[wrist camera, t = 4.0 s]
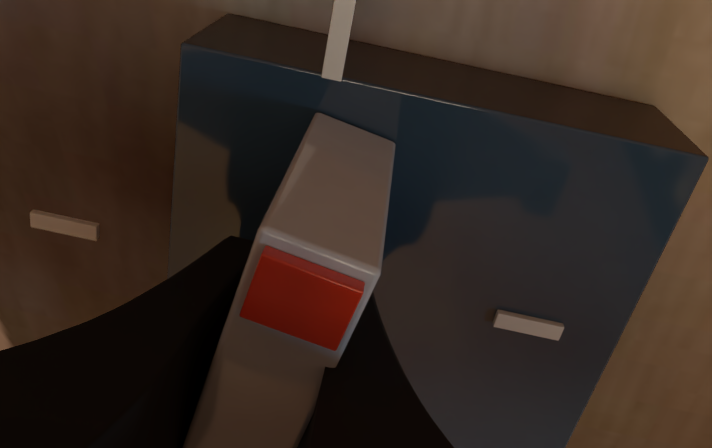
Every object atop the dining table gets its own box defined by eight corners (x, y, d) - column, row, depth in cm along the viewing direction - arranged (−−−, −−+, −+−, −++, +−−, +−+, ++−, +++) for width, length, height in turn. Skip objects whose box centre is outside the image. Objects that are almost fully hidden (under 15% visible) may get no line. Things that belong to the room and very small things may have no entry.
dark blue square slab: (99, 335, 19) (41, 415, 16) (98, -84, 13) (10, -76, 10) (517, 425, 19) (534, 520, 16) (683, 44, 13) (752, 86, 10)
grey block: (282, 401, 15) (227, 602, 11) (218, 379, 15) (136, 572, 11) (398, 141, 12) (382, 283, 7) (315, 109, 12) (253, 235, 7)
